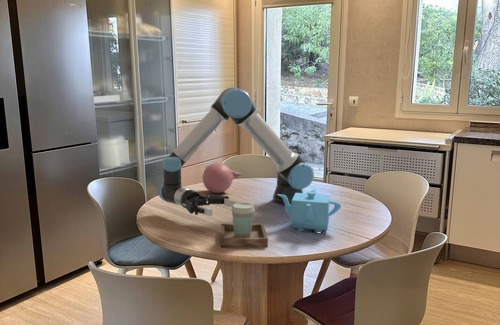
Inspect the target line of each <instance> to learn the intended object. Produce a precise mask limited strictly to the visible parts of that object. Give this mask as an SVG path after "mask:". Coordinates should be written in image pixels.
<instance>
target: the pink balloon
mask: <svg viewBox="0 0 500 325" xmlns="http://www.w3.org/2000/svg"><path fill="white" fill-rule="evenodd" d="M242 175H243V174H242V173H241V172H238V170H235V171H234V170H233V169H230V168H229V167H228V166H227V165H226V164H223V163H220V162H215V163H211V164H209V165H208V166H207V167H206V168H205V170H204V171H203V174H202V178H201V179H202V183H203V185H204V187H205V189H207V190H208V191H209V192H211V193H215V194H220V193H224V192H226V191H228V190H229V189H230V187H231V186H232V184H233V181H234V179H238V178H239V176H242Z"/></svg>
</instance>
